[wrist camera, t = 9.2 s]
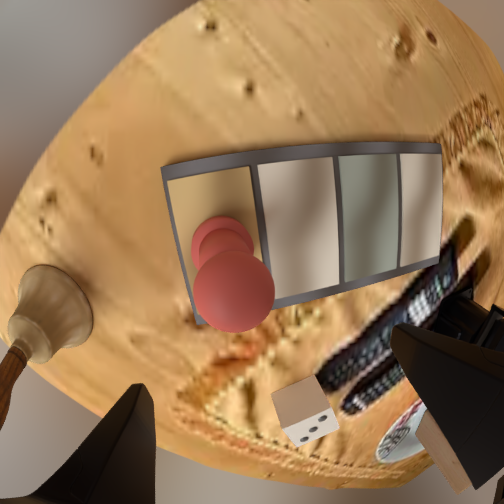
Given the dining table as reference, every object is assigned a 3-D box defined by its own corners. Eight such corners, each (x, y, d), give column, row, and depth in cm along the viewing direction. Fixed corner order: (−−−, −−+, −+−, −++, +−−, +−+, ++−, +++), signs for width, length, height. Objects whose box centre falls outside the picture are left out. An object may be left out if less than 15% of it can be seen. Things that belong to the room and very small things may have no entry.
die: (313, 373, 26) (331, 407, 22) (323, 397, 28) (340, 428, 23) (270, 393, 26) (282, 429, 21) (285, 414, 28) (296, 447, 23)
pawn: (245, 210, 18) (285, 253, 10) (253, 265, 20) (293, 340, 11) (185, 222, 18) (175, 276, 9) (198, 277, 19) (201, 360, 11)
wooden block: (424, 410, 37) (477, 480, 18) (460, 385, 37) (513, 444, 19) (413, 434, 40) (456, 496, 22) (447, 412, 41) (491, 466, 22)
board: (433, 143, 20) (442, 143, 19) (432, 259, 24) (439, 263, 23) (162, 166, 18) (159, 167, 16) (197, 318, 22) (197, 326, 21)
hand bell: (66, 252, 18) (-64, 388, 3) (108, 337, 21) (58, 501, 6) (7, 278, 17) (-94, 383, 3) (47, 351, 20) (-12, 475, 5)
